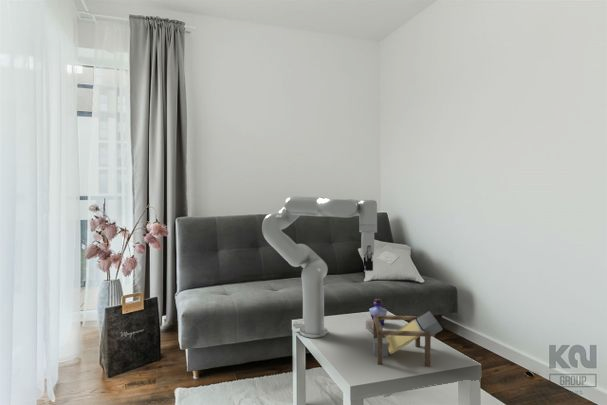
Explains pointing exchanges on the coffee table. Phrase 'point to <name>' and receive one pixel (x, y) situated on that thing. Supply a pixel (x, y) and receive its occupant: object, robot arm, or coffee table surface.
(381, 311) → the potion bottle
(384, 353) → the smooth grey cube
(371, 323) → the concrete fragment
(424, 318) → the trapdoor
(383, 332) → the frame
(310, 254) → the robot arm
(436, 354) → the coffee table surface
